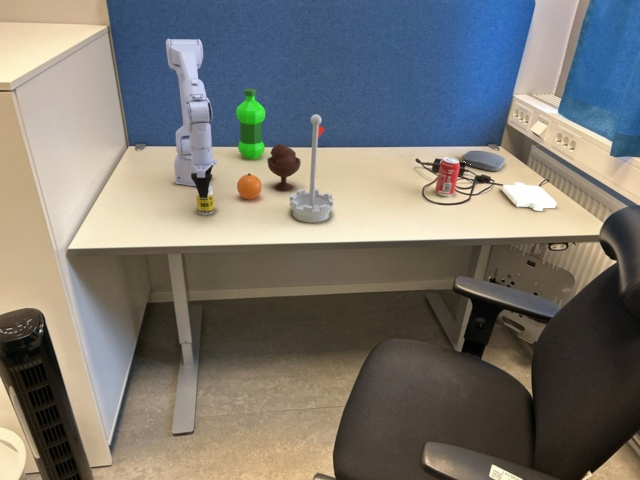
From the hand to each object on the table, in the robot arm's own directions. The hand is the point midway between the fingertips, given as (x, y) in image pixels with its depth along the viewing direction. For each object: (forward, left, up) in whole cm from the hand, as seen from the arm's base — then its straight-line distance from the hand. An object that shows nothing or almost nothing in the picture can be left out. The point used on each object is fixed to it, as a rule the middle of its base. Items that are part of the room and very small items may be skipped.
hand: (204, 191), depth 135 cm
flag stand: (+30, +8, -7) cm, 32 cm away
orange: (+9, +13, -7) cm, 17 cm away
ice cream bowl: (+17, +24, -7) cm, 30 cm away
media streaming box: (+86, +72, -7) cm, 112 cm away
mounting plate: (+98, +42, -7) cm, 107 cm away
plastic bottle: (-2, +47, -7) cm, 48 cm away
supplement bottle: (0, 0, -7) cm, 7 cm away
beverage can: (+70, +37, -7) cm, 79 cm away
